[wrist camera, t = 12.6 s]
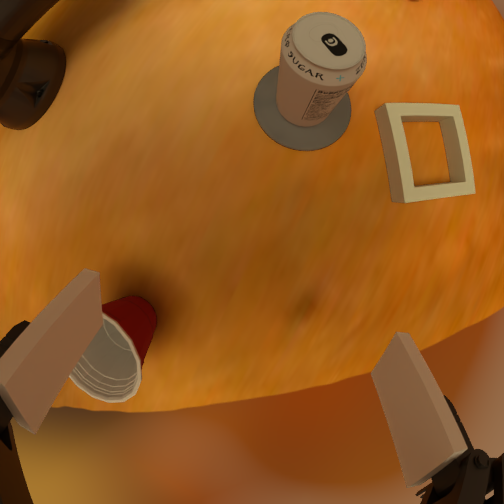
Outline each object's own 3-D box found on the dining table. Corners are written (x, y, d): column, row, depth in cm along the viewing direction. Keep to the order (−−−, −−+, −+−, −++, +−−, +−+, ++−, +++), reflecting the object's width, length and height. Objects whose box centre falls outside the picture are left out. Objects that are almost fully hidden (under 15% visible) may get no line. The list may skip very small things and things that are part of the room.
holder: (374, 111, 29) (385, 103, 25) (444, 111, 28) (458, 105, 24) (391, 201, 31) (404, 203, 27) (459, 192, 30) (475, 193, 26)
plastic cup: (167, 271, 34) (123, 308, 22) (182, 350, 36) (153, 408, 24) (94, 276, 34) (38, 308, 23) (113, 348, 36) (71, 395, 25)
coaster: (245, 70, 29) (245, 68, 28) (336, 60, 28) (337, 58, 27) (264, 158, 31) (264, 157, 30) (358, 145, 30) (360, 144, 29)
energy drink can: (308, 71, 28) (335, -4, 13) (339, 113, 29) (391, 58, 14) (264, 95, 29) (263, 25, 14) (296, 138, 29) (321, 92, 15)
